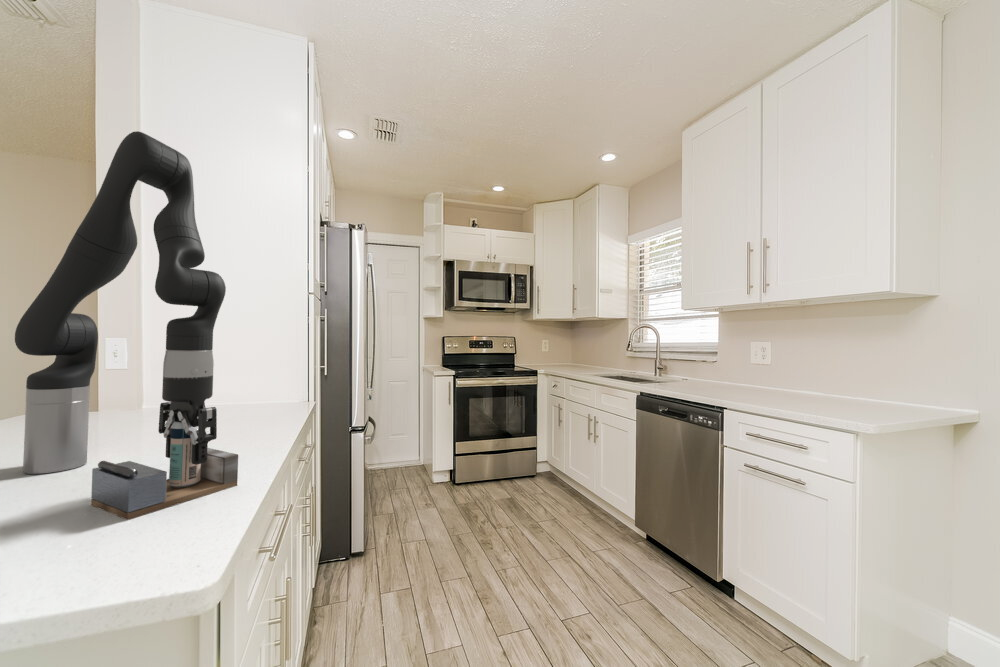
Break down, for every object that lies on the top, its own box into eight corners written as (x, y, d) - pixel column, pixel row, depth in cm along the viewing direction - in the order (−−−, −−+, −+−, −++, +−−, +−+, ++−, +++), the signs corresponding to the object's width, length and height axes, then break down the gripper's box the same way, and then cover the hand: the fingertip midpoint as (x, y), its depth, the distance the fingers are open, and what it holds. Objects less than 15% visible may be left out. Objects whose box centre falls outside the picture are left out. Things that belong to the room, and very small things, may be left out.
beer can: (203, 478, 79) (206, 417, 79) (196, 487, 74) (199, 422, 75) (173, 481, 77) (175, 418, 77) (164, 490, 73) (166, 423, 73)
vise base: (91, 505, 68) (92, 469, 68) (200, 475, 84) (201, 446, 84) (127, 520, 63) (129, 481, 63) (237, 485, 79) (238, 454, 79)
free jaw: (91, 498, 68) (92, 461, 68) (130, 488, 73) (131, 453, 73) (128, 512, 63) (129, 472, 63) (167, 500, 68) (168, 463, 68)
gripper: (232, 374, 76) (229, 460, 76) (189, 370, 82) (186, 450, 82) (188, 378, 70) (185, 472, 69) (144, 373, 76) (141, 459, 75)
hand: (185, 460), depth 76 cm, fingers open, 8 cm apart
